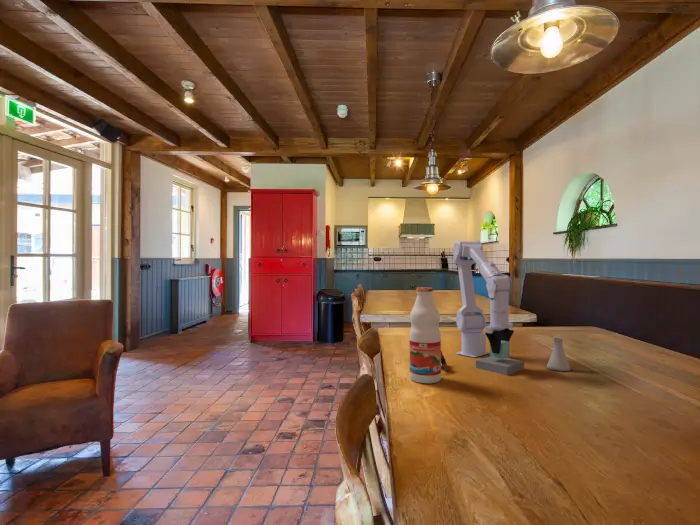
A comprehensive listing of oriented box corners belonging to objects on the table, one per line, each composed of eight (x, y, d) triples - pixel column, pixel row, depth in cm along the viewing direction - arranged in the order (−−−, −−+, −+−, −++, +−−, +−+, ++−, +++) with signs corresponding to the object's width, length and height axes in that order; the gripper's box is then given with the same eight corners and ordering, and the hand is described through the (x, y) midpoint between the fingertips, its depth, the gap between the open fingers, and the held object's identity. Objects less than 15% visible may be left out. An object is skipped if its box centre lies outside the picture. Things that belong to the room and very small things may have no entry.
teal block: (497, 354, 128) (496, 339, 128) (509, 356, 124) (509, 341, 124) (490, 356, 125) (490, 341, 125) (503, 358, 122) (502, 343, 122)
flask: (574, 372, 119) (574, 341, 120) (550, 371, 121) (549, 340, 121) (566, 366, 127) (565, 336, 127) (543, 365, 128) (542, 336, 128)
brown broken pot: (446, 376, 118) (433, 353, 119) (422, 384, 123) (409, 363, 124) (454, 358, 129) (442, 337, 129) (431, 366, 134) (419, 346, 134)
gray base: (493, 363, 132) (493, 355, 132) (524, 370, 124) (524, 361, 124) (475, 369, 126) (475, 360, 126) (506, 376, 117) (506, 367, 117)
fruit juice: (443, 376, 116) (442, 286, 116) (437, 385, 107) (436, 288, 108) (414, 373, 120) (413, 286, 120) (406, 381, 111) (405, 288, 111)
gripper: (499, 314, 117) (500, 358, 117) (521, 310, 126) (521, 350, 126) (479, 312, 122) (479, 353, 122) (501, 309, 132) (501, 347, 132)
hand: (499, 352), depth 125 cm, fingers closed on teal block, 4 cm apart
